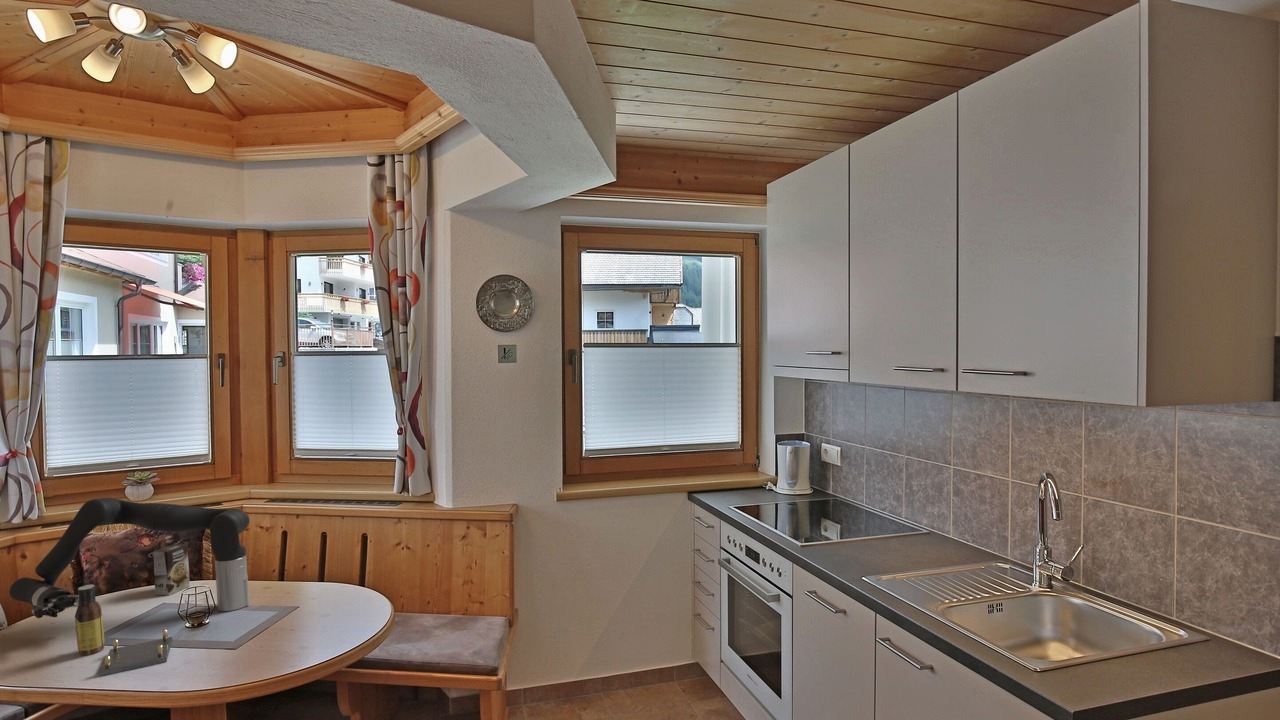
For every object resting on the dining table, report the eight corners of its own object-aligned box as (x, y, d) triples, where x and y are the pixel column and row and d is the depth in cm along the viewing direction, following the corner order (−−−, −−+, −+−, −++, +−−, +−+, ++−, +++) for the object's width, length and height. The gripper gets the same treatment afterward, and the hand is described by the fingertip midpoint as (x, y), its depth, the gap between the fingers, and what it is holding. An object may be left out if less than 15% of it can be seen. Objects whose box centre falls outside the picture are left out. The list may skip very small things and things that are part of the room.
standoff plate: (172, 641, 207) (171, 627, 207) (166, 661, 194) (165, 646, 194) (110, 654, 200) (109, 639, 200) (100, 676, 187) (99, 660, 186)
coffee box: (169, 595, 245) (166, 551, 244) (154, 594, 246) (152, 551, 245) (190, 586, 254) (188, 544, 253) (176, 585, 255) (174, 543, 254)
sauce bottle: (88, 647, 205) (84, 582, 204) (110, 645, 205) (106, 581, 204) (71, 657, 198) (67, 591, 197) (94, 656, 199) (90, 589, 198)
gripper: (21, 595, 209) (43, 605, 201) (78, 580, 221) (100, 588, 213) (23, 619, 209) (44, 629, 201) (79, 602, 221) (102, 611, 213)
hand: (73, 608), depth 207 cm, fingers open, 8 cm apart
